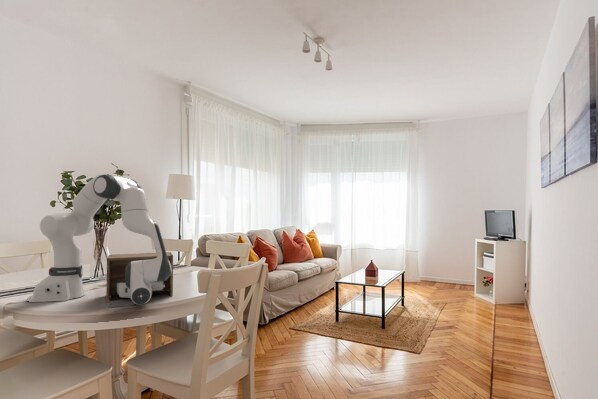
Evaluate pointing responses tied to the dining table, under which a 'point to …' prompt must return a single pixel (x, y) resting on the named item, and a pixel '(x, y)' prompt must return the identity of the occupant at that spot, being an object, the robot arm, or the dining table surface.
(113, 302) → the mat
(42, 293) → the robot arm
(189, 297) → the dining table surface
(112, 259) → the wooden bench shelf
